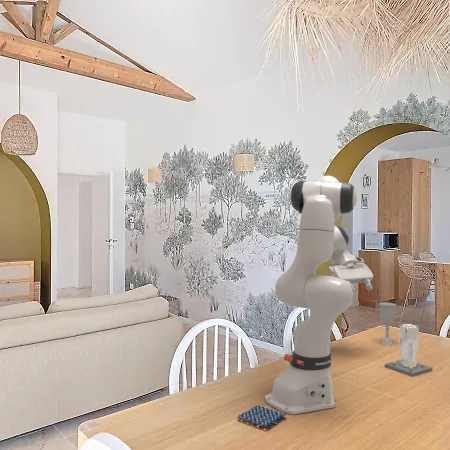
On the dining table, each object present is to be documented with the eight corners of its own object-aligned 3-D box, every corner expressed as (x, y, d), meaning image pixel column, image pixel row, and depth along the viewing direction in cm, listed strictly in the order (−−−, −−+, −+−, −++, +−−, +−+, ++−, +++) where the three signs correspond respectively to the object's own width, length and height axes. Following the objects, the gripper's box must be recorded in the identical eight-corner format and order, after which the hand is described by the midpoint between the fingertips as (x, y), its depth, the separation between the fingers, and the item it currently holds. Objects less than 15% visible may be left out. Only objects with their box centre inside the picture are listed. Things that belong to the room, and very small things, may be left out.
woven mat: (257, 409, 131) (257, 403, 131) (287, 420, 125) (287, 413, 124) (235, 422, 123) (235, 414, 123) (266, 434, 116) (266, 426, 116)
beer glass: (414, 362, 170) (414, 324, 170) (421, 368, 163) (422, 328, 163) (396, 362, 171) (396, 323, 170) (402, 368, 164) (403, 328, 164)
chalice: (377, 344, 199) (378, 304, 199) (379, 340, 205) (380, 302, 205) (394, 346, 196) (395, 306, 196) (396, 342, 202) (397, 303, 202)
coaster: (412, 376, 158) (412, 369, 158) (384, 367, 169) (384, 360, 169) (432, 370, 165) (432, 364, 165) (404, 361, 175) (404, 355, 175)
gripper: (330, 259, 178) (348, 287, 170) (364, 258, 189) (383, 283, 181) (322, 269, 182) (339, 296, 174) (356, 267, 193) (374, 293, 185)
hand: (362, 290), depth 177 cm, fingers open, 8 cm apart
